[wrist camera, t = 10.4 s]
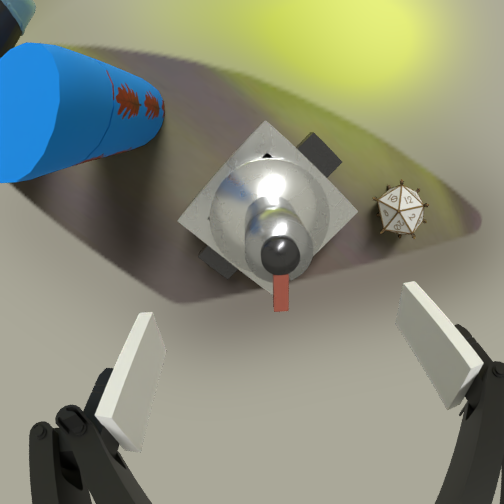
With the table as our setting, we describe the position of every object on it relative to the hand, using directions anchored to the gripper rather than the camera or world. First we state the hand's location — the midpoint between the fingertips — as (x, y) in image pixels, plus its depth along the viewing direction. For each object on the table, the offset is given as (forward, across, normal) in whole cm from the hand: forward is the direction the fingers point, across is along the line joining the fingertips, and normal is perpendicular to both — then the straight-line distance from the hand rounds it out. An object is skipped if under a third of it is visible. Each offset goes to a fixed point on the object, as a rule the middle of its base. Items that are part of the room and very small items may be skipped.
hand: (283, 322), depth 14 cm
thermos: (+29, -17, +14) cm, 37 cm away
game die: (+29, +21, -3) cm, 36 cm away
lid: (+23, +1, 0) cm, 23 cm away
